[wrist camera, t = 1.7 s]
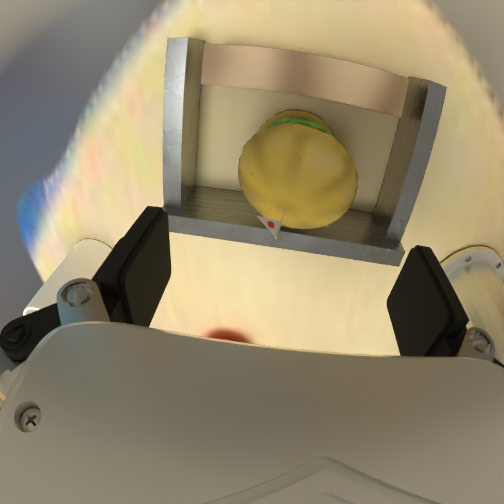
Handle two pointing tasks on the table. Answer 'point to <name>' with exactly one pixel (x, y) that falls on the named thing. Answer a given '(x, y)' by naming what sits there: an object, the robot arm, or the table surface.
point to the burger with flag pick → (297, 173)
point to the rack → (245, 215)
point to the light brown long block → (304, 76)
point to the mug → (70, 271)
